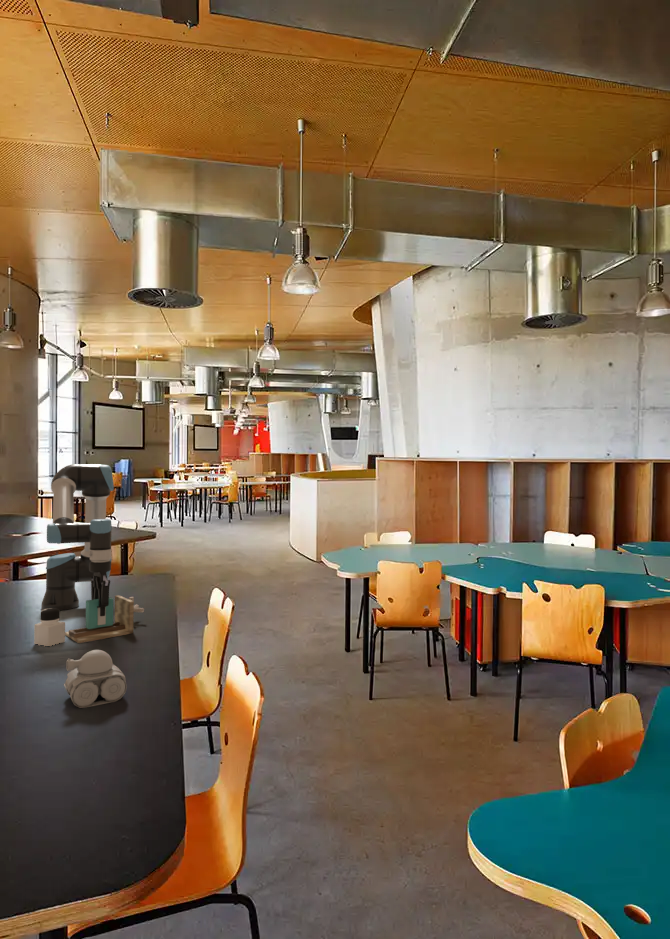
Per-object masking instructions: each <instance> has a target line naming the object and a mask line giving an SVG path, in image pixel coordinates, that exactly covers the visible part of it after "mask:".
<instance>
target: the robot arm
mask: <svg viewBox="0 0 670 939" xmlns="http://www.w3.org/2000/svg"><path fill="white" fill-rule="evenodd" d="M112 470H113V469H112V468H111V466H110V465H108V464H100V463H97V464H96V463H94V464H93V463H90V464H89V463H88V464H85V463H84V464H83V463H82V464H81V463H79V464H78V463H73V464H69V465H66V466H63V467H62V468H61V469H60V470H58V471H57V472H56V473H55V474H54V476H53V478H52V480H51V483H50V489H51V492H52V493H53V497H52V498H53V499H52V500H53V501H52V502H53V504H52V507H53V508H52V523H48V524H47V525H46V541H47V542H46V543H47V544H58V545H60V544H75V543H78V544H79V543H80V544H81V543H82V544H83V543H84V548H83V550H81V551H80V555H77V556H76V554H75V552H67V553H60V554H56V555H52V556H50V557H48V558H47V560H46V565H45V566H46V567H45V570H46V571H45V572H46V574H45V575H46V577H45V579H46V580H45V584H46V585H45V593H44V596H43V598H42V601H41V608H40V609H41V610H44V609H49V608H56V609H59V610H60V611H65V610H72V609H76V608H77V607H79V605H80V600H79V597H78V594H77V591H76V583H84V582H85V583H86V582H90V591H91V592H90V593H91V597H90V598H91V599H90V600H94V599H99V606H97V608H98V621H97V625H103V624H106V606H108V605H109V597H110V585H111V580H110V579H109V577H110V574H111V570H112V560H113V559H112V558H113V557H112V529H113V527H112V520H110V519H109V518H107V517H106V516H107V498H109V496H110V495H111V492H112V491H114V487H115V486H114V478H113V476H114V475H113V471H112ZM80 491H81V496H82V497H83V498H85V505H84V506H85V512H84V516H85V519H84V522H75V518H74V517H75V510H74V509H75V506H74V504H75V503H74V501H75V500H74V496H75V495H74V493H75V492H80Z"/></svg>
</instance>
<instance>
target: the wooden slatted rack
mask: <svg viewBox="0 0 670 939" xmlns="http://www.w3.org/2000/svg"><path fill="white" fill-rule="evenodd" d="M134 605H135V600H134V601H132V600H129V598H127V597H124V596H122V595H119V594H117V595H114V622H113V625H111V626H105V627H99V628H93V629H87V628H86V627H80V628H75V629H74V628H73V629H70V630H68V631H65V637H68V638H69V639H71V640H72V641H74V642H76V643H77V644H82V643H87V642H94V641H97V640H104V639H108V638H109V639H110V638H115V637H120V636H126V635H131V634H134V613H135V612H134Z"/></svg>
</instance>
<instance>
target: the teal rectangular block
mask: <svg viewBox="0 0 670 939" xmlns="http://www.w3.org/2000/svg"><path fill="white" fill-rule="evenodd" d="M97 606H99V599H94V600H91V599H89V600H85V628H87V629H93V628H99V627H105V626H111V625H113V623H114V598H113V597H110V596H109V605H108V606H106V624H103V625H97V621H98V608H97Z"/></svg>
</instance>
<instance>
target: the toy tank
mask: <svg viewBox="0 0 670 939" xmlns="http://www.w3.org/2000/svg"><path fill="white" fill-rule="evenodd" d="M65 662H66V664H65V665H66V666H65V667H66V668H65V669H66V671H67V672H68V673H67V674H66V676H67V678H66V680H65V683H63V686H64V688H65V691H66V692H67V695H69V696H70V699H71V702H72V703H73V705H74V706H76V707H78V708H80V709H81V708H82V709H85V708H89V707H96V706H101V705H104V704H109V703H115V702H117V701H119V700H121V699H122V698H123V696H124V695H125V693H126V692H127V689H128V685H127V682H126V680H127V679H126V676H125V674H124V673H123V671H121V669H120V668H119V667H118V666H116V665H115V664H114V663H113V659H112V657H111V655H110V654H109V653H108V652H106V651H104V650H101V649H93V650H90V651H88V652H86V653H85V654H83V655H82V656H81V658H80V659H75V660H74V659H71V658H68V659H67V660H66V661H65ZM99 695H100V696H101V698H103V700H98V701H96V700H97V698H98V696H99Z"/></svg>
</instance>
